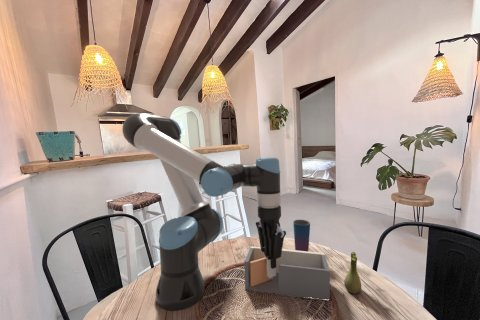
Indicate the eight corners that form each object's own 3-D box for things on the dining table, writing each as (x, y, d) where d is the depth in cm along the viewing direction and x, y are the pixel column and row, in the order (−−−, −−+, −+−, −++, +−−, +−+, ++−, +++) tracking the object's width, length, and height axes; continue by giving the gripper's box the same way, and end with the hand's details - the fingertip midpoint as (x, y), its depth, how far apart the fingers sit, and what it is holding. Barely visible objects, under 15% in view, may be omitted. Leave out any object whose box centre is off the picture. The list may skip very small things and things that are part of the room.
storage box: (245, 289, 70) (244, 261, 69) (251, 270, 81) (250, 246, 80) (329, 301, 64) (329, 271, 63) (324, 279, 74) (324, 253, 74)
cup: (311, 262, 86) (311, 225, 85) (293, 260, 87) (293, 224, 86) (309, 253, 92) (309, 219, 91) (293, 252, 94) (292, 219, 93)
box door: (251, 286, 69) (251, 263, 69) (250, 285, 70) (249, 261, 70) (273, 278, 73) (273, 256, 73) (272, 277, 74) (271, 255, 74)
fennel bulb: (355, 298, 65) (356, 260, 64) (340, 289, 69) (340, 253, 68) (364, 290, 68) (365, 254, 68) (349, 282, 72) (349, 248, 72)
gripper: (291, 207, 65) (294, 281, 66) (266, 199, 76) (268, 263, 77) (272, 211, 61) (275, 290, 62) (248, 203, 72) (251, 270, 73)
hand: (271, 275), depth 70 cm, fingers closed
